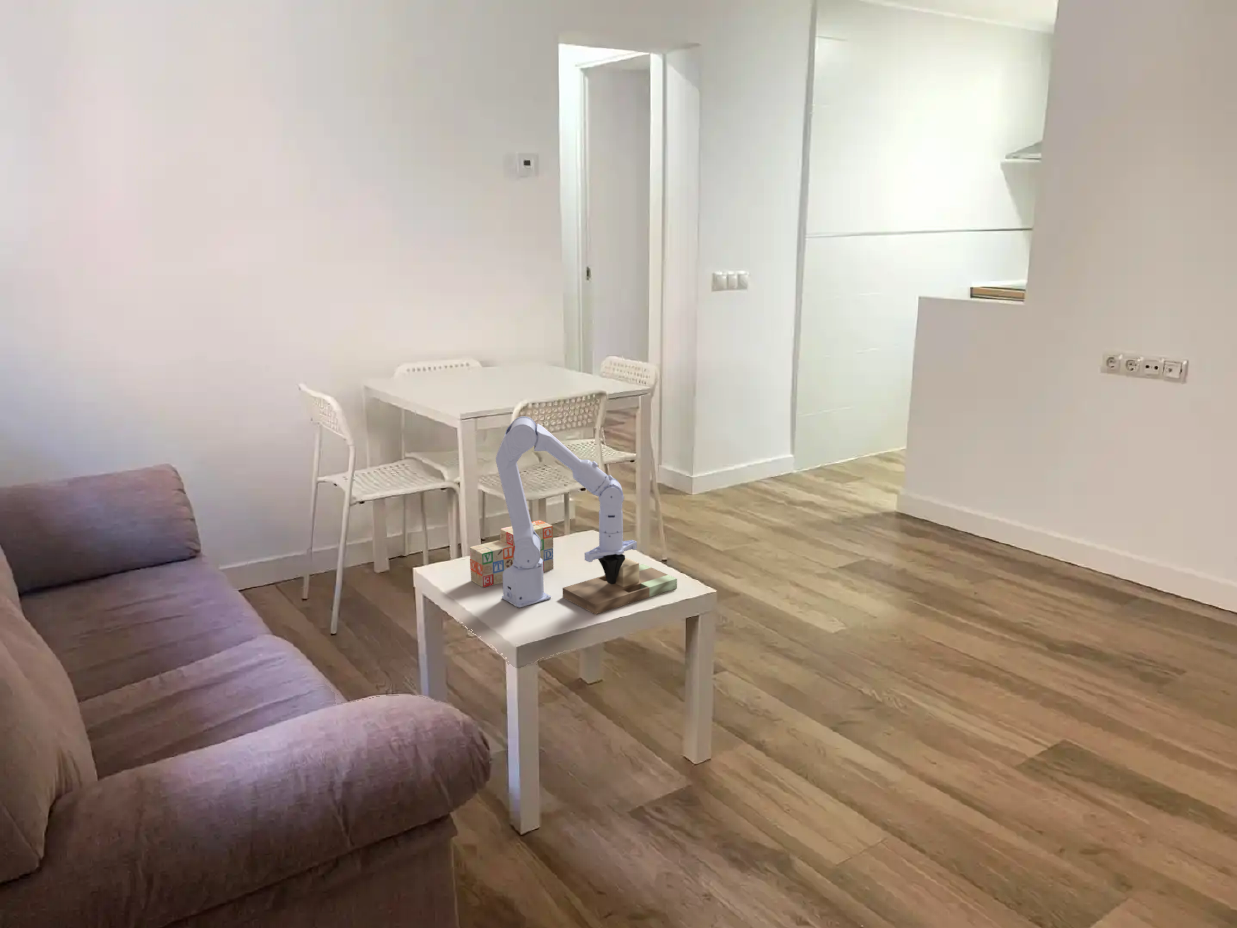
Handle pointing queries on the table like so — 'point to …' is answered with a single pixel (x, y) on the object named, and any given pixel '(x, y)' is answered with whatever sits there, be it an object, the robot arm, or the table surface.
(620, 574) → the maple block
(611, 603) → the trap board
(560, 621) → the table surface
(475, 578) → the stack of blocks
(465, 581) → the table surface
